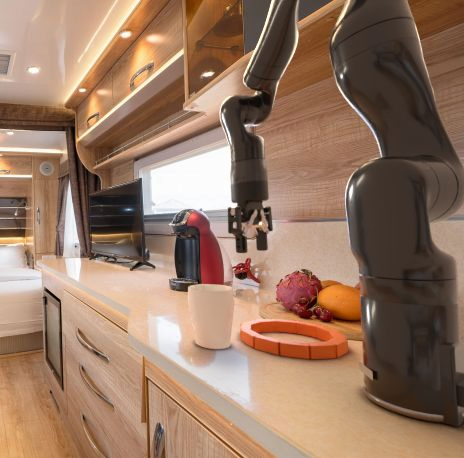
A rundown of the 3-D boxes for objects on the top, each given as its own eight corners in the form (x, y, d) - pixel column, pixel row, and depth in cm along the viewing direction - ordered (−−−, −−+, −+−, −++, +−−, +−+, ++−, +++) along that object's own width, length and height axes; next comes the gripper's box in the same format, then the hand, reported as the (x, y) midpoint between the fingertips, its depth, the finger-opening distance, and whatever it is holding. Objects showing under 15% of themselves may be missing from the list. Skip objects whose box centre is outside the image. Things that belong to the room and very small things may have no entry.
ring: (362, 344, 66) (361, 332, 66) (320, 367, 57) (319, 353, 57) (268, 324, 81) (268, 315, 81) (223, 339, 72) (223, 328, 72)
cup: (226, 336, 74) (223, 283, 74) (244, 351, 65) (241, 290, 65) (184, 337, 75) (182, 284, 75) (196, 352, 66) (194, 292, 66)
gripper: (247, 177, 69) (251, 254, 69) (281, 180, 77) (285, 250, 77) (215, 182, 76) (218, 253, 76) (249, 185, 83) (252, 249, 83)
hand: (252, 251), depth 76 cm, fingers open, 8 cm apart
